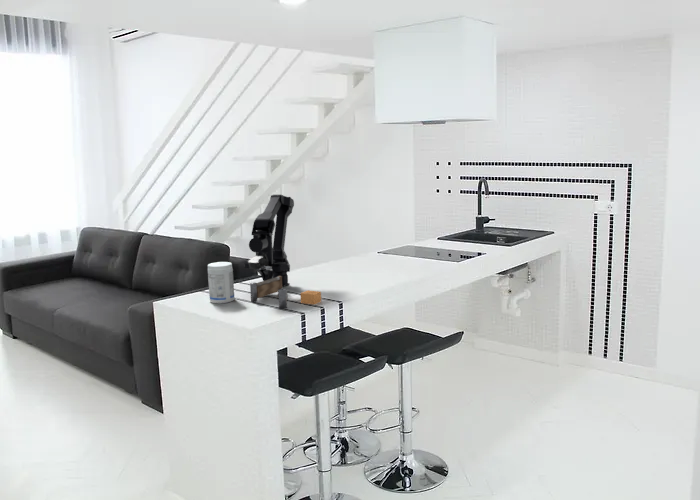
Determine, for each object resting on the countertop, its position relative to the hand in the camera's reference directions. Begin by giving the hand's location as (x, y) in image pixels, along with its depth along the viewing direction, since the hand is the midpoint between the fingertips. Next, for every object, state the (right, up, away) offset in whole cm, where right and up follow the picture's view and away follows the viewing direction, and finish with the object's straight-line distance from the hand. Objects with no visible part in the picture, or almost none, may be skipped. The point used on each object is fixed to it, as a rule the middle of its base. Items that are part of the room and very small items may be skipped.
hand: (266, 286), depth 265 cm
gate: (+2, -3, -5) cm, 6 cm away
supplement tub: (-16, -5, -10) cm, 20 cm away
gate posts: (+3, -6, -18) cm, 19 cm away
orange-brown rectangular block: (+19, -5, -15) cm, 25 cm away
